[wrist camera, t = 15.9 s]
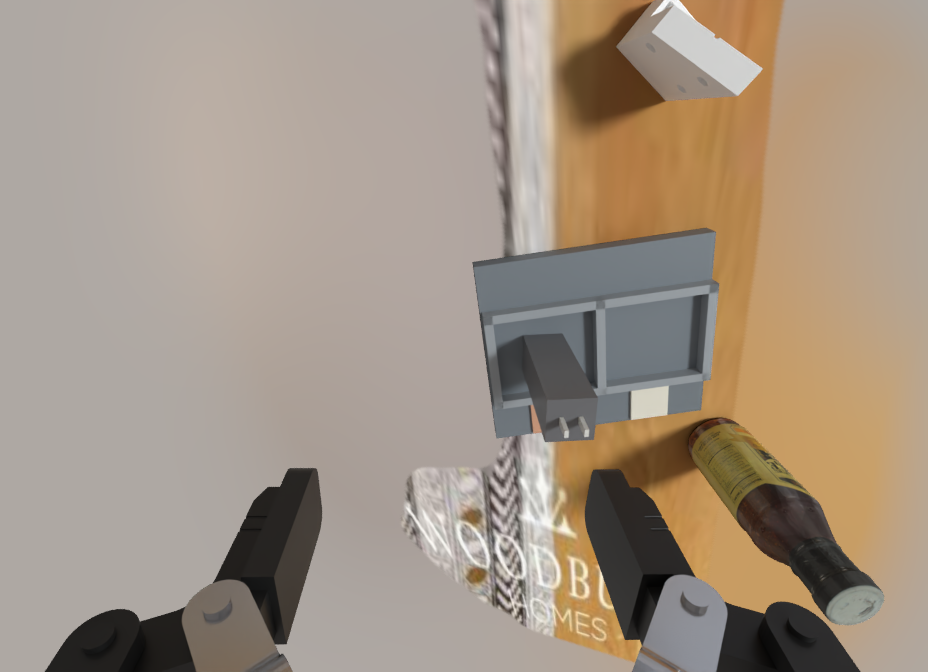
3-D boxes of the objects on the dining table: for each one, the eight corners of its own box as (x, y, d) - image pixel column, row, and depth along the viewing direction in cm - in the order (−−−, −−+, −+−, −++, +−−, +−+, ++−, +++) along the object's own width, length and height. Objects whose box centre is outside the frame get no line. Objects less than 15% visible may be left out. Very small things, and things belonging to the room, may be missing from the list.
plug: (523, 335, 43) (551, 413, 32) (562, 333, 44) (605, 410, 32) (522, 369, 45) (549, 456, 34) (560, 368, 45) (600, 453, 34)
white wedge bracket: (716, 140, 36) (737, 96, 28) (617, 64, 38) (610, 1, 30) (755, 99, 35) (789, 40, 27) (651, 22, 37) (654, -54, 29)
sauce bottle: (749, 445, 52) (913, 619, 34) (695, 470, 53) (825, 652, 35) (731, 401, 49) (896, 565, 31) (674, 429, 51) (803, 602, 33)
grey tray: (472, 262, 42) (474, 271, 40) (706, 227, 42) (723, 235, 39) (494, 428, 50) (497, 445, 47) (693, 401, 49) (706, 416, 47)
